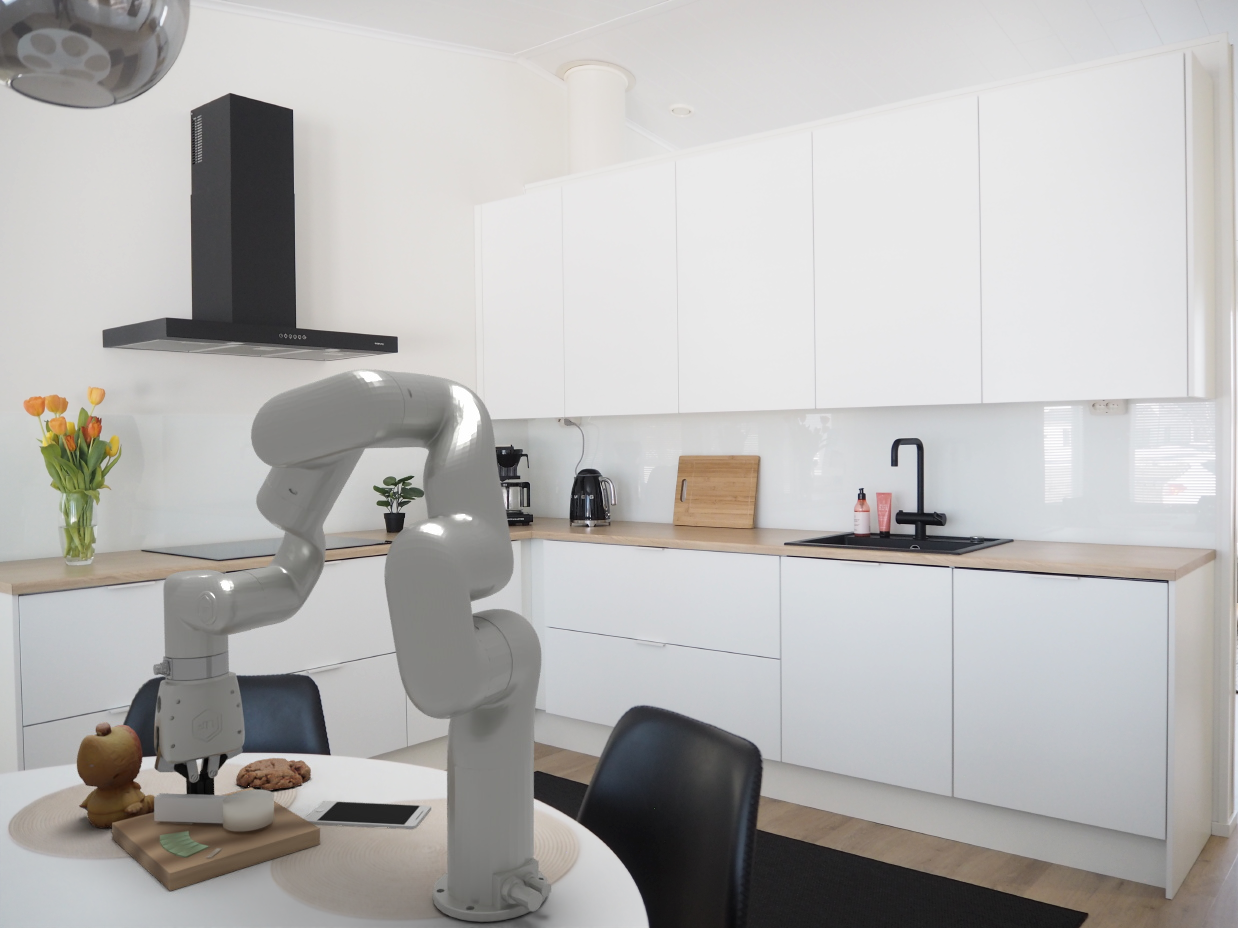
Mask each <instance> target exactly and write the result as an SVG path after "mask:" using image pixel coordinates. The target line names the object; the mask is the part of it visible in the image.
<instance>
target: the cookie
mask: <svg viewBox="0 0 1238 928" xmlns="http://www.w3.org/2000/svg"><path fill="white" fill-rule="evenodd" d="M311 773H312V771H311V767H310V766H309V765H308V764H307V763H306V762H305V761H304V760H302V759H301V760H294V759H293V760H287V759H286V758H279V757H277V758H275V757H271V758H270V757H269V758H265V759H259V760H256V761H253V762H249V764H247V765H245V766H244V767H242V768H240V770H239V772H238V773H237V776H236V777H235V778H236V779H235V781H236V785H238V786H242V787H245V788H251V787H252V788H258V787H259V788H260V790H267V791H273V790H277V789H287V788H292V787H298V786H302V785H303V784H304V783H306V782H308V781H309V780H310V778H311V775H312V774H311ZM248 786H249V787H248Z"/></svg>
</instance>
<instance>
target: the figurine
mask: <svg viewBox="0 0 1238 928" xmlns="http://www.w3.org/2000/svg"><path fill="white" fill-rule="evenodd" d="M95 733H96V734H89V735H86V736H85V737H84V738H83V739H82V740H81V742H80V745H79V748H78V752H77V756H76V757H77V758H76V770H77V775H78V776H79V778H80V779H81V780H82V781H83V783H84V784H85V786H87V787H95V788H94V790H92V791H91V792H89V794H88V795H87V796H86V798H85V799H84V800H83V801H82V802H81V803H80V804H79V805H78V806H79V808H81V809H84V810H85V811H87V813H86V814H87V819H88V821H89V823H90V824H91V825H92V826H93V827H97V828H99V829H100V828H101V829H105V828H107V829H108V828H110V829H112V823H114V822H118V821H122V820H126V819H130V818H133V817H137V816H141V815H145V814H149V813H153V812H154V797H155V796H156V795H153V794H148V795H146V794H145V793H144V792H142V791H141V789H142V787H141V785H140V783H139V782H137V781H135V779H136V778H137V777H138V776H139V774H140V772H141V771H140V770H141V768H142V763H143V748H142V745H141V744H142V743H141V740H140V738H139V736H138V734H137V732H136V731H135V730H134V729H133V728H131V727H130V726H129V725H125V724H117V725H115V726H111V724H110V723H109V722H107V721H106V722H104V721H102V722H99V723H98V724H97V725H96V726H95Z"/></svg>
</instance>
